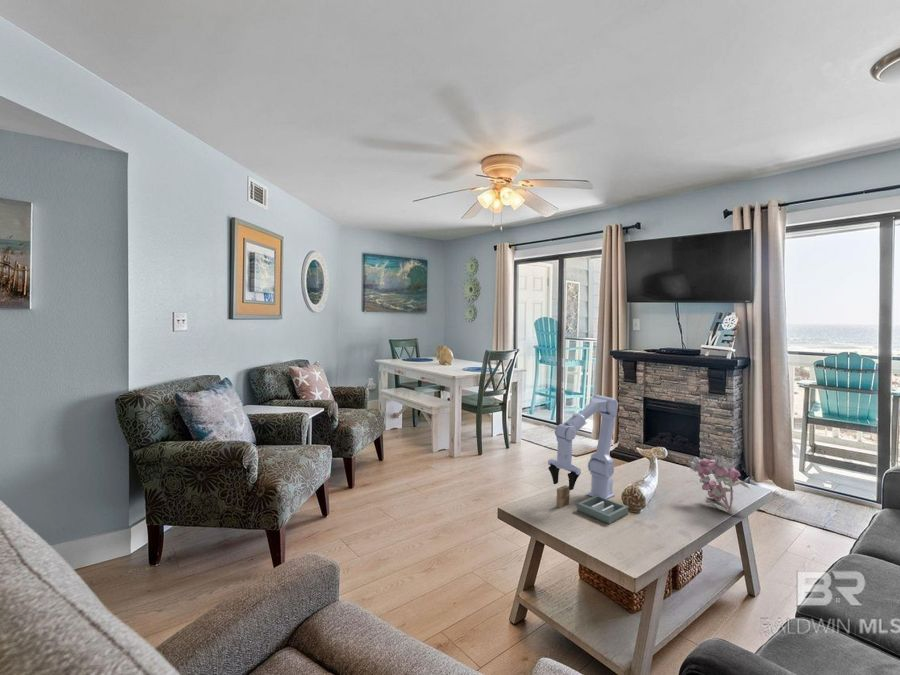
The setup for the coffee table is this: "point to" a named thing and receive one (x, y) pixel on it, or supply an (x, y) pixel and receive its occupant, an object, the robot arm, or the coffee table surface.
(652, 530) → the coffee table surface
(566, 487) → the wood block
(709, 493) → the flower
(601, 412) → the robot arm
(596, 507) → the slotted divider tray
